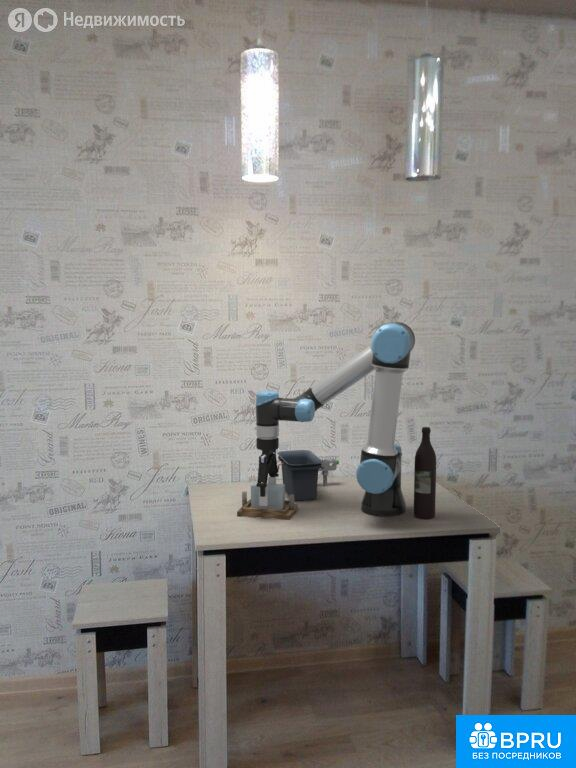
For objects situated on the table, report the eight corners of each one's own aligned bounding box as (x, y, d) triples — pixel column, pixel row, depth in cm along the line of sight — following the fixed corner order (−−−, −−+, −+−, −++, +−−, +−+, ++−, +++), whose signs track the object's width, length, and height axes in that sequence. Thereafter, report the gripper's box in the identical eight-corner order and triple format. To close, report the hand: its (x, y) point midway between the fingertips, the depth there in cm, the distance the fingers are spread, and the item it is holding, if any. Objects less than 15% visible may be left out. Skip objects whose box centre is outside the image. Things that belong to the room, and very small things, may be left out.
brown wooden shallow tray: (298, 508, 259) (298, 490, 259) (289, 519, 247) (289, 500, 246) (247, 505, 264) (247, 487, 263) (236, 516, 251) (236, 497, 250)
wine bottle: (409, 514, 252) (411, 426, 248) (427, 512, 255) (429, 425, 251) (420, 520, 246) (422, 430, 242) (439, 518, 248) (441, 428, 244)
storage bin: (325, 501, 268) (325, 462, 266) (283, 504, 264) (283, 464, 262) (309, 485, 288) (309, 449, 287) (269, 488, 285) (269, 451, 283)
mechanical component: (311, 485, 289) (311, 460, 287) (337, 484, 290) (337, 458, 289) (312, 487, 286) (312, 461, 284) (339, 486, 288) (339, 460, 286)
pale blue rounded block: (285, 507, 256) (284, 484, 255) (282, 510, 252) (282, 487, 251) (253, 505, 258) (253, 482, 257) (251, 508, 255) (250, 485, 253)
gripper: (265, 430, 264) (266, 490, 267) (246, 443, 241) (247, 509, 244) (286, 430, 262) (286, 491, 265) (269, 445, 240) (270, 511, 242)
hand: (267, 500), depth 255 cm, fingers open, 11 cm apart
